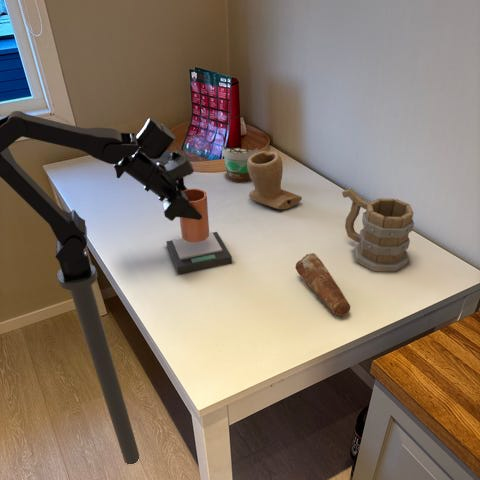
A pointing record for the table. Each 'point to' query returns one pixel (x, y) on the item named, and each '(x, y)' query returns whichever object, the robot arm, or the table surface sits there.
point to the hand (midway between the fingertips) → (198, 211)
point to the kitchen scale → (198, 253)
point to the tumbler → (192, 227)
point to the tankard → (380, 232)
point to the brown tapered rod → (322, 283)
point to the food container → (237, 163)
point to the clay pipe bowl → (269, 181)
